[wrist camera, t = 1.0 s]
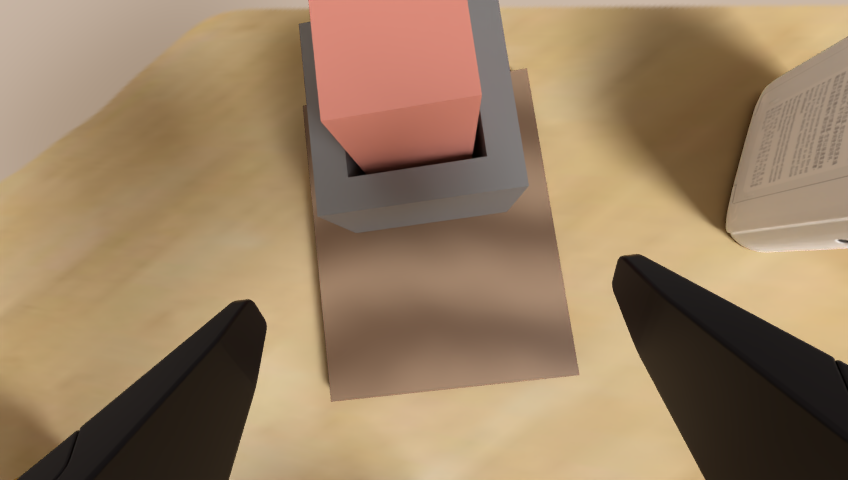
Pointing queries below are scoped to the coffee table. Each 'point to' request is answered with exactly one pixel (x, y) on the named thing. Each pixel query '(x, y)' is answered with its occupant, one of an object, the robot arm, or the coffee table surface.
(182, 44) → the coffee table surface
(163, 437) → the robot arm
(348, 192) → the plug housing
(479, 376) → the board
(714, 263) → the coffee table surface
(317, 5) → the plug
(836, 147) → the photo printer
